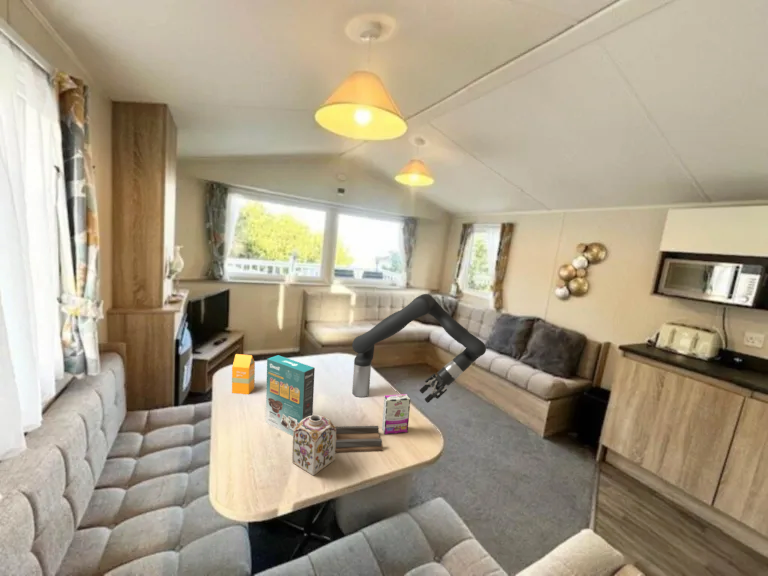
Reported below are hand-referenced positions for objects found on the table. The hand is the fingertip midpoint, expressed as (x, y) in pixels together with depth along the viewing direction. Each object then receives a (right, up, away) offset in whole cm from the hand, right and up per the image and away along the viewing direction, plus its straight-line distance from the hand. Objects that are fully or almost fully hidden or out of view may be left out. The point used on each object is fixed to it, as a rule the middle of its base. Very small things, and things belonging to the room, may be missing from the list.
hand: (423, 396), depth 152 cm
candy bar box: (-13, -16, 0) cm, 20 cm away
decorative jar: (-44, -17, -24) cm, 53 cm away
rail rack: (-30, -16, -9) cm, 35 cm away
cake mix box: (-60, -13, -4) cm, 61 cm away
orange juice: (-92, -6, +27) cm, 96 cm away
